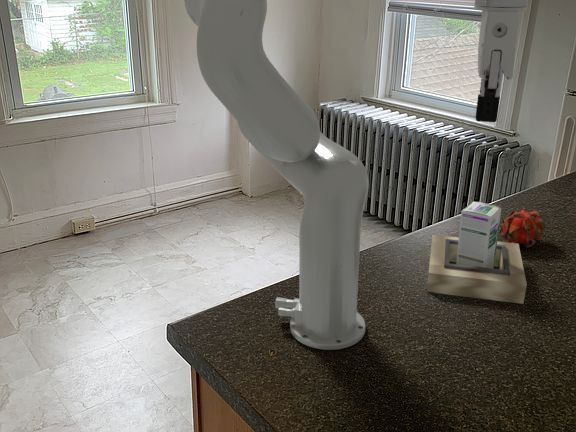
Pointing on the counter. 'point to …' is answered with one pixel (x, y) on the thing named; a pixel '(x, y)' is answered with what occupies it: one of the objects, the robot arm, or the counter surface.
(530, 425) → the counter surface
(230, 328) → the counter surface
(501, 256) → the socket block
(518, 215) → the dragon fruit
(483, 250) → the syrup box
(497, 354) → the counter surface
